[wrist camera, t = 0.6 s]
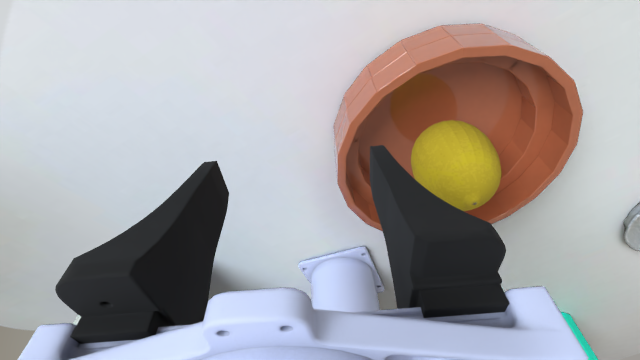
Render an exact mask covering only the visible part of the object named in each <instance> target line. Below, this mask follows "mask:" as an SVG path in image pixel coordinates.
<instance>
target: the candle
mask: <svg viewBox="0 0 640 360" xmlns="http://www.w3.org/2000/svg"><path fill="white" fill-rule="evenodd" d="M561 314H562V315H563V317H564V318H565V320H566V322H567V323H568V325H569V327H570V328H571V330H572V331H573V333H574V335H575V336H576V338H577V339H578V341H579V343H580V344H581V346H582V348H583V349H584V351H585V352H586V354H587V356H588V357H589V358H588V360H598V359H597V357H596V355H595V354H594V352H593V351H592V349H591V348H590V346H589V344H588V343H587V341H586V340H585V338H584V336H583V335H582V333H581V332H580V330H579V329H578V327H577V325H576V324H575V322H574V321H573V319H572V318H571V316H570V314H567V313H564V312H561Z"/></svg>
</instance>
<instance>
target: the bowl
mask: <svg viewBox="0 0 640 360" xmlns="http://www.w3.org/2000/svg"><path fill="white" fill-rule="evenodd" d="M582 115H583V110H582V106H581V103H580V99H579V95H578V92H577V88H576V85H575V82H574V80H573V79H572V78H571V77H570V76H569V75H568V74H567V73H566V72H565V71H564V70H563V69H562V68H561V67H560V66H559V65H558V64H557V63H556V62H555V61H554V60H553V59H551V58H550V57H549V56H547V55H546V54H544V53H543V52H541V51H540V50H538V49H536V48H535V47H533V46H532V45H530V44H529V43H527V42H526V41H524V40H522V39H521V38H519V37H518V36H516V35H515V34H512V33H509V32H506V31H503V30H500V29H497V28H494V27H491V26H487V25H484V24H461V25H442V26H438V27H435V28H432V29H430V30H427V31H424V32H422V33H419V34H416V35H414V36H411V37H408V38H406V39H403V40H401V41H399V42H398V43H396V44H395V45H394V46H392V47H391V48H390V49H388V50H387V51H386V52H384V53H383V54H382V55H380V56H379V57H377V58H376V59H375V60H373V61H372V62H371V63H369V64H368V65H367V66H366V67H365V68H364V69H363V71H362V72H361V73H360V75H359V76H358V77H357V79H356V80H355V81H354V83H353V84H352V85H351V87H350V88H349V89H348V90H347V92H346V93H345V95H344V97H343V100H342V103H341V106H340V109H339V112H338V114H337V117H336V120H335V123H334V154H335V163H336V172H337V182H338V186H339V188H340V190H341V192H342V195H343V197H344V199H345V201H346V203H347V206H348V207H349V208H350V209H351V210H352V211H353V212H354V213H355V214H356V215H357V216H358V217H359V218H361V219H362V220H363V221H364V222H365V223H366V224H368V225H370V226H372V227H374V228H377V229H379V230H381V231H383V230H382V227H381V224H380V221H379V217H378V214H377V211H376V207H375V204H374V201H373V197H372V191H371V185H370V146H378V145H384V146H385V147H386V149H387V150H388V151H389V152H390V154H391V155H392V156H393V157H394V158H395V159H396V161H397V162H398V163H399V164H400V165H401V166H402V167H403V168H404V169H405V170H406V171H407V172H408V173H409V174H410V175H411V176H412V177H413V178H414V175H413V171H412V166H411V154H412V148H413V146H414V144H415V141H416V139H417V138H418V137H419V136H420V134H421V133H422V132H423V131H424V130H426V129H427V128H428V127H430V126H432V125H433V124H436V123H439V122H442V121H448V120H455V121H463V122H466V123H468V124H471V125H473V126H475V127H476V128H478V129H479V130H480V131H481V132H483V133H484V134H485V135H486V136H487V137H488V138H489V140H490V141H491V143H492V144H493V146H494V148H495V149H496V151H497V154H498V156H499V160H500V165H501V180H500V184H499V187H498V189H497V190H496V192H495V194H494V195H493V196H492V197H491V199H490V200H489V201H487V202H486V203H485V204H483V205H482V206H480V207H478V208H475V209H472V210H468V211H464V212H466V213H468V214H470V215H472V216H475V217H477V218H480V219H482V220H485V221H487V222H489V223H490V224H493V223H495V222H497V221H499V220H502V219H504V218H506V217H508V216H510V215H511V214H513V213H514V212H516V211H517V210H519V209H520V208H522V207H523V206H525V205H526V204H527V203H529V202H530V201H532V200H533V199H535V198H536V197H537V196H538V195H539V194H540V193H541V192H542V191H543V190H544V189H545V188H546V187H547V186H548V185H549V184H550V183H551V182H552V181H553V180H554V179H555V178H556V177H557V176H558V175H559V174H560V172H561V171H562V169H563V168H564V166H565V164H566V162H567V161H568V159H569V157H570V155H571V154H572V152H573V150H574V148H575V147H576V145H577V142H578V137H579V131H580V126H581V121H582ZM414 179H415V178H414Z"/></svg>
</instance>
